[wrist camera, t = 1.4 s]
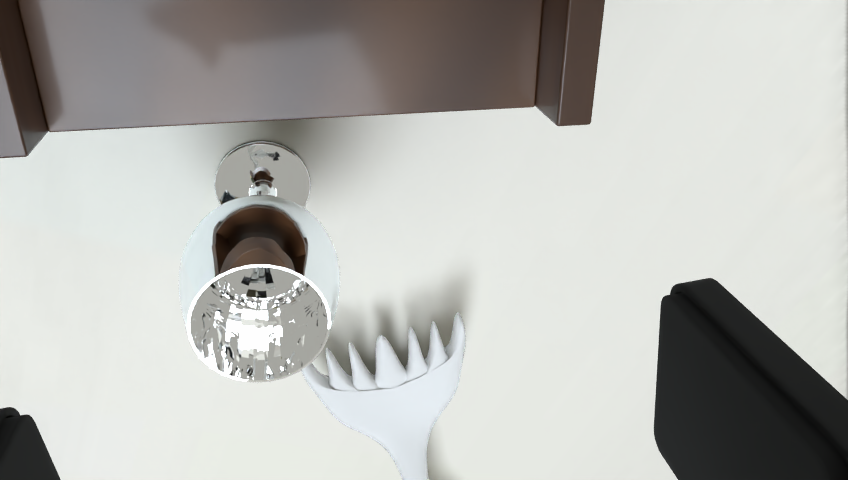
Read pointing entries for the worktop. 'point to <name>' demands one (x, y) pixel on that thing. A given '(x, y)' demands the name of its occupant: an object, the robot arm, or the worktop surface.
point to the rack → (286, 61)
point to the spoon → (395, 394)
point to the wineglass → (259, 270)
